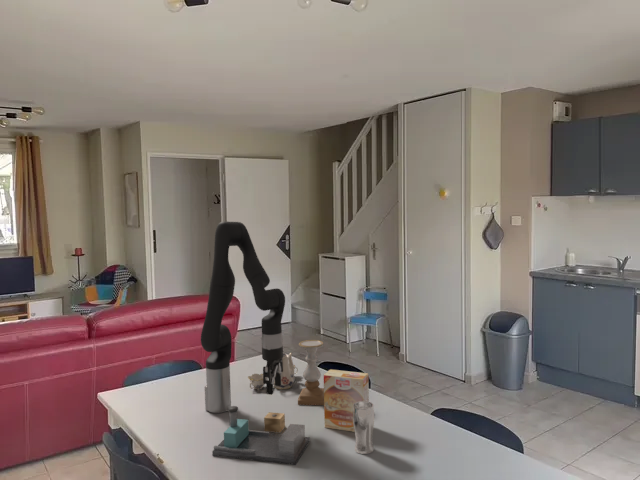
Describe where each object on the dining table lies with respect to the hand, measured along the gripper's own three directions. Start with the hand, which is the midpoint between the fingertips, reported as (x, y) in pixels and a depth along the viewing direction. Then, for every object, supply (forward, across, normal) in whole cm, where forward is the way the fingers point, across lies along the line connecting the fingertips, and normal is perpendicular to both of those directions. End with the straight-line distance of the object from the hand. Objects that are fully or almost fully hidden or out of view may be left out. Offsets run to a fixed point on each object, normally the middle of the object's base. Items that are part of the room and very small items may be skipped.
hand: (274, 389), depth 184 cm
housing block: (+14, 0, 0) cm, 14 cm away
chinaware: (+14, -44, -14) cm, 49 cm away
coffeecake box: (+15, -7, +25) cm, 30 cm away
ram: (+12, +15, -9) cm, 21 cm away
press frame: (+14, +15, +1) cm, 21 cm away
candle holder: (+14, -29, +6) cm, 33 cm away
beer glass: (+15, +9, +34) cm, 38 cm away
